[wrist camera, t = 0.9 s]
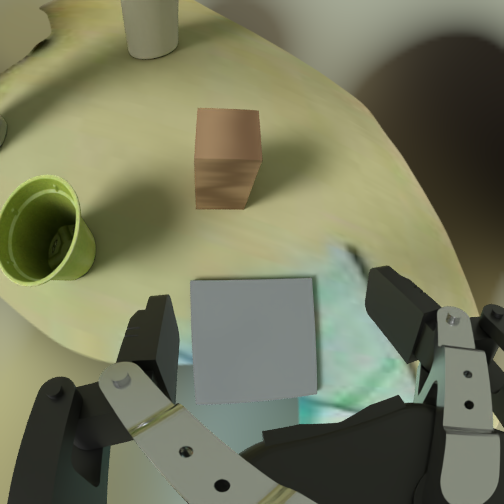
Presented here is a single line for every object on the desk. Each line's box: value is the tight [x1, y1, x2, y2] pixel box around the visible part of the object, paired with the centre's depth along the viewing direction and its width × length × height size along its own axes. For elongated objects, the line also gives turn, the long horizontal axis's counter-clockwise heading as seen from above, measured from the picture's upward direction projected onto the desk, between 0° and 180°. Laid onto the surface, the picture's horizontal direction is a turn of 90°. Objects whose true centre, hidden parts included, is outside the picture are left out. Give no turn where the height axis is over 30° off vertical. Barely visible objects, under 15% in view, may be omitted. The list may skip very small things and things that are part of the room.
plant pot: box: [0, 174, 96, 287], centre depth 22 cm, size 9×9×9 cm
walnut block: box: [194, 108, 262, 209], centre depth 26 cm, size 5×5×10 cm
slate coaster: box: [190, 278, 317, 405], centre depth 27 cm, size 12×12×1 cm
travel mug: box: [121, 0, 178, 59], centre depth 26 cm, size 8×8×18 cm
